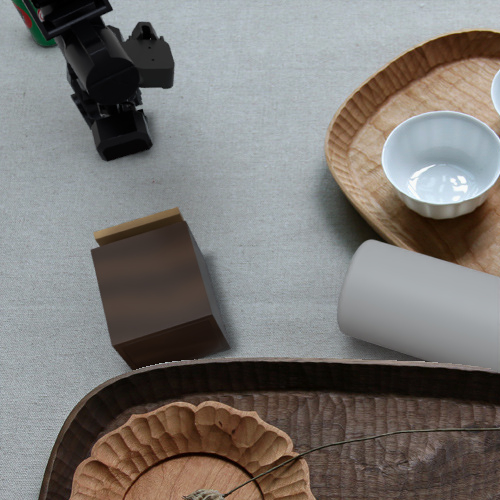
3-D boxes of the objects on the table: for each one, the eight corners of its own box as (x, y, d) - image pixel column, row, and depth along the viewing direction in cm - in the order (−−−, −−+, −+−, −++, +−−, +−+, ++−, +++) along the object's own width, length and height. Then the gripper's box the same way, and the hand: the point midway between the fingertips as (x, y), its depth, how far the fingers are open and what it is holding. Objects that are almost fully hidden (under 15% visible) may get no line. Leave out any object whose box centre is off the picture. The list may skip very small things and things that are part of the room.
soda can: (59, 50, 130) (24, -14, 118) (30, 46, 130) (-8, -18, 119) (70, 27, 131) (36, -39, 120) (41, 23, 132) (5, -42, 121)
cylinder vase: (341, 349, 107) (523, 407, 102) (328, 303, 95) (533, 367, 91) (375, 271, 111) (552, 324, 107) (367, 218, 99) (565, 275, 95)
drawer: (113, 257, 113) (91, 224, 106) (192, 233, 114) (175, 199, 107) (134, 346, 107) (112, 318, 100) (217, 320, 108) (201, 290, 101)
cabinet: (117, 287, 112) (90, 249, 103) (205, 260, 113) (185, 220, 104) (138, 378, 106) (111, 345, 98) (231, 348, 108) (212, 313, 99)
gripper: (173, 84, 88) (211, 175, 102) (139, -31, 95) (179, 70, 110) (73, 113, 87) (125, 201, 102) (46, -5, 94) (98, 93, 109)
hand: (134, 138), depth 105 cm, fingers open, 4 cm apart
